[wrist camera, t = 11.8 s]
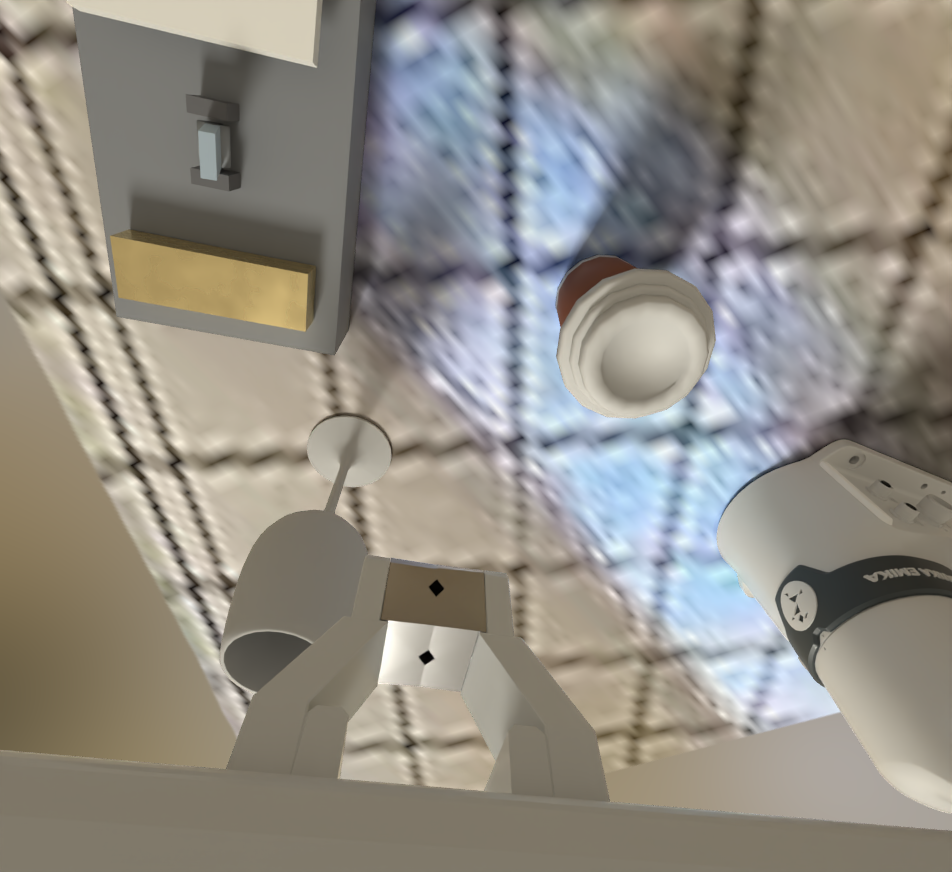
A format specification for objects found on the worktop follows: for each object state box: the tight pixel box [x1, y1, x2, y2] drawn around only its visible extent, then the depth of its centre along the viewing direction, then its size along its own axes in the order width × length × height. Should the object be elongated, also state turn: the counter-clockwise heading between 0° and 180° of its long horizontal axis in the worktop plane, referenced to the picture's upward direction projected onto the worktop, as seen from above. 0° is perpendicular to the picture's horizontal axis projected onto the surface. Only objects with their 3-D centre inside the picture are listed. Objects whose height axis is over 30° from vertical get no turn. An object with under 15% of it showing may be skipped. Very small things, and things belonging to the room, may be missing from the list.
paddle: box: [197, 120, 231, 181], centre depth 27 cm, size 2×2×6 cm
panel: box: [73, 0, 376, 355], centre depth 31 cm, size 14×23×7 cm, turn 168°
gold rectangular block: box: [110, 229, 316, 332], centre depth 33 cm, size 11×4×2 cm, turn 78°
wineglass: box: [220, 415, 392, 694], centre depth 37 cm, size 8×8×21 cm
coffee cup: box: [555, 255, 716, 418], centre depth 35 cm, size 9×9×12 cm
